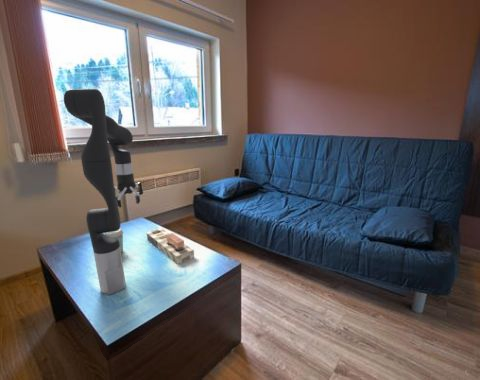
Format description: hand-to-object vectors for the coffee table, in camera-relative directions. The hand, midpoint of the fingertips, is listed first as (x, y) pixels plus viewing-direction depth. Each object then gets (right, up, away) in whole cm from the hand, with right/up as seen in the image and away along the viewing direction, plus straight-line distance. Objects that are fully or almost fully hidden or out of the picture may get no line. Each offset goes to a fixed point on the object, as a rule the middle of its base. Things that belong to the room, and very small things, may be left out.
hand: (129, 205), depth 127 cm
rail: (+17, -23, +9) cm, 30 cm away
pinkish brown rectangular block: (+22, -24, +4) cm, 33 cm away
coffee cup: (-9, -25, +6) cm, 27 cm away
